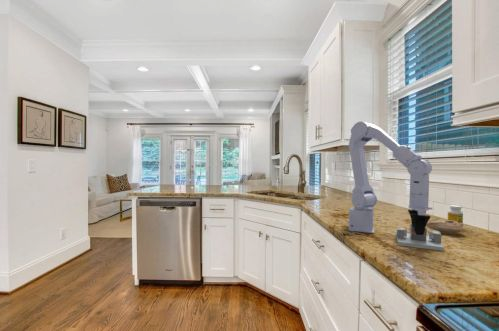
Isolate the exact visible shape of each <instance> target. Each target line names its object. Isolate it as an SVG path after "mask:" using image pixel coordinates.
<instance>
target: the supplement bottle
mask: <svg viewBox="0 0 499 331" xmlns="http://www.w3.org/2000/svg"><path fill="white" fill-rule="evenodd" d="M447 220H453V221H456V222H458V223H462V224H463V225H464V213H463V211H462V206H460V205H456V204H455V205H453V204H450V205H449V209H448V211H447Z"/></svg>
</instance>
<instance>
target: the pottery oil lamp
mask: <svg viewBox="0 0 499 331" xmlns="http://www.w3.org/2000/svg"><path fill="white" fill-rule="evenodd" d="M426 228H428V229H430V230H432V231H439V232H440V233H441V234H445V235H455V234H458V233H461V232H462V231H464V230H465V227H464V223H463V224H462V223H458V222H456V221H453V220H448V219H447V220H435V221H428V222H427V224H426Z"/></svg>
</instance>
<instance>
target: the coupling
mask: <svg viewBox="0 0 499 331" xmlns="http://www.w3.org/2000/svg"><path fill="white" fill-rule="evenodd" d="M427 228H428V227H427V226H426V227H425V231H424V234H423V235H416V233H415V227H414V225H412V223H410V224H409V234H410V238H411V240H417V241H426V236H428V233H427V232H428V230H427Z"/></svg>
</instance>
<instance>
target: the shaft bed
mask: <svg viewBox="0 0 499 331" xmlns="http://www.w3.org/2000/svg"><path fill="white" fill-rule="evenodd" d="M395 238H396V242H397V245H398V246H403V247H410V248H419V249H425V250H426V249H427V250H432V251H441V252H444V251H445V246H444V245H443V244H442V232H440V231H436V230H429V231H428V235H427V236H426V241H417V240H411V238H410V232H409V233H408V230H407V228H405V227H399V226H396V231H395Z"/></svg>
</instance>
